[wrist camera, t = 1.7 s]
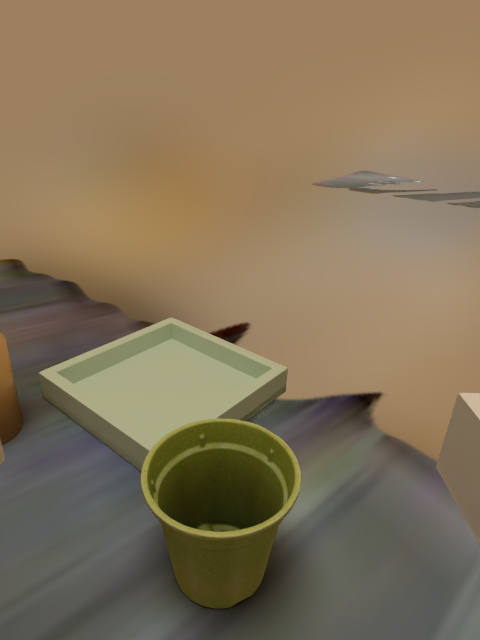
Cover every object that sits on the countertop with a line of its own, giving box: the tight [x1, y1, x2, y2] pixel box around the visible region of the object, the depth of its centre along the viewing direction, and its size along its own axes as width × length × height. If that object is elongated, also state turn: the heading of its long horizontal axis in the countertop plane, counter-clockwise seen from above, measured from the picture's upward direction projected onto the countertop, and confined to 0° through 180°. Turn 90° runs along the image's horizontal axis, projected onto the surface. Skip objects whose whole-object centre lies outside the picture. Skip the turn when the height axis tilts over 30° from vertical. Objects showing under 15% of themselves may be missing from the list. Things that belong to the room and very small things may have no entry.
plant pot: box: [141, 418, 301, 608], centre depth 28 cm, size 9×9×9 cm
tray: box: [38, 317, 288, 472], centre depth 47 cm, size 18×18×3 cm
